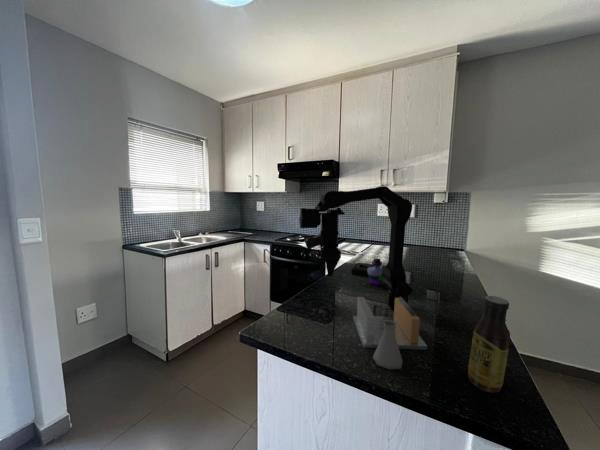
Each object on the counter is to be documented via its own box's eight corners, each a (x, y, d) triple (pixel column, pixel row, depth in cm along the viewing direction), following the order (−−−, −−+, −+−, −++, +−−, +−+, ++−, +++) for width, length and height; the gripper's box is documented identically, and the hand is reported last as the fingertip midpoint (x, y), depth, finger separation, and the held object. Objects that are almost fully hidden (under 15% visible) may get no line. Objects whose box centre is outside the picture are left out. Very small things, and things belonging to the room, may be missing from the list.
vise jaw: (399, 318, 82) (401, 294, 81) (418, 343, 68) (420, 315, 67) (393, 317, 82) (395, 294, 81) (410, 343, 68) (412, 315, 67)
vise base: (404, 319, 83) (406, 296, 82) (427, 349, 67) (429, 321, 66) (353, 318, 84) (354, 295, 83) (363, 347, 68) (364, 319, 67)
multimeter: (357, 268, 141) (357, 260, 140) (393, 273, 132) (393, 264, 132) (350, 275, 129) (351, 266, 128) (390, 281, 121) (390, 271, 120)
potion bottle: (378, 289, 110) (379, 262, 108) (362, 283, 116) (363, 258, 115) (389, 284, 115) (390, 259, 114) (373, 279, 122) (374, 255, 120)
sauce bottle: (460, 374, 58) (468, 292, 55) (485, 373, 58) (494, 291, 56) (483, 397, 51) (493, 305, 49) (511, 395, 52) (523, 304, 50)
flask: (405, 372, 58) (408, 332, 57) (373, 368, 60) (375, 329, 59) (400, 353, 65) (402, 317, 64) (371, 349, 67) (373, 314, 66)
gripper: (307, 224, 95) (307, 264, 97) (305, 231, 77) (304, 280, 79) (336, 224, 95) (335, 264, 97) (341, 232, 76) (340, 281, 78)
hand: (329, 271), depth 88 cm, fingers open, 9 cm apart
